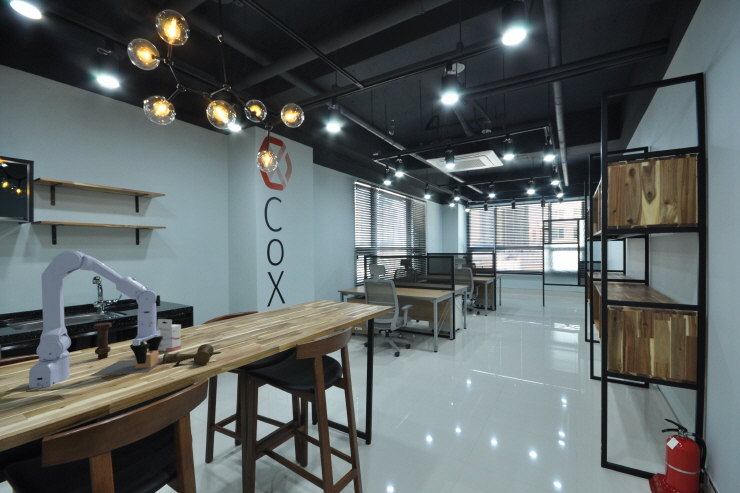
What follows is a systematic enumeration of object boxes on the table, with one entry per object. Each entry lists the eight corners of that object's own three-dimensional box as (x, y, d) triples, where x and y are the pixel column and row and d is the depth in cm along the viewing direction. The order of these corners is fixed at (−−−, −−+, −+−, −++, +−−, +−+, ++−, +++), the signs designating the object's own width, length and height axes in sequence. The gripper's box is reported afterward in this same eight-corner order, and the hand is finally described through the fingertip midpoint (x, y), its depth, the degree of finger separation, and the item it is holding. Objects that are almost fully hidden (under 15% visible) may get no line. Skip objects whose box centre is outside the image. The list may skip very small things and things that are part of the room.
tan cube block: (150, 367, 117) (150, 354, 117) (135, 368, 116) (135, 355, 116) (158, 362, 122) (158, 350, 122) (143, 363, 121) (143, 351, 121)
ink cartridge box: (182, 351, 141) (181, 317, 141) (172, 355, 136) (171, 319, 136) (166, 350, 143) (166, 316, 143) (156, 353, 138) (156, 318, 139)
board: (147, 376, 111) (147, 359, 112) (89, 380, 109) (89, 362, 109) (169, 361, 127) (169, 346, 127) (119, 364, 125) (119, 348, 125)
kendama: (167, 363, 127) (223, 356, 133) (160, 372, 118) (220, 364, 124) (166, 348, 127) (222, 341, 133) (159, 356, 118) (219, 348, 124)
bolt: (115, 359, 131) (115, 322, 131) (103, 363, 126) (103, 325, 126) (102, 359, 132) (101, 322, 132) (90, 363, 127) (90, 325, 127)
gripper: (148, 326, 113) (148, 366, 112) (168, 318, 127) (168, 353, 127) (125, 327, 112) (126, 367, 111) (149, 319, 126) (149, 354, 126)
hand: (147, 360), depth 119 cm, fingers open, 7 cm apart
